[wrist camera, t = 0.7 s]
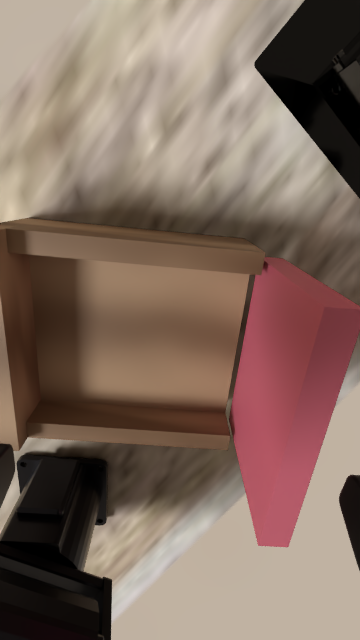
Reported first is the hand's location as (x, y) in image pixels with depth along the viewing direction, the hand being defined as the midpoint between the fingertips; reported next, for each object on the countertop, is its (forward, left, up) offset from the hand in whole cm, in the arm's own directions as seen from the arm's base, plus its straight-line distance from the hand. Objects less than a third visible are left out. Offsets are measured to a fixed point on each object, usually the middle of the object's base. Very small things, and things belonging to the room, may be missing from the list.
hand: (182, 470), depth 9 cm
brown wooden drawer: (-1, +3, -12) cm, 12 cm away
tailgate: (-1, -4, -9) cm, 10 cm away
